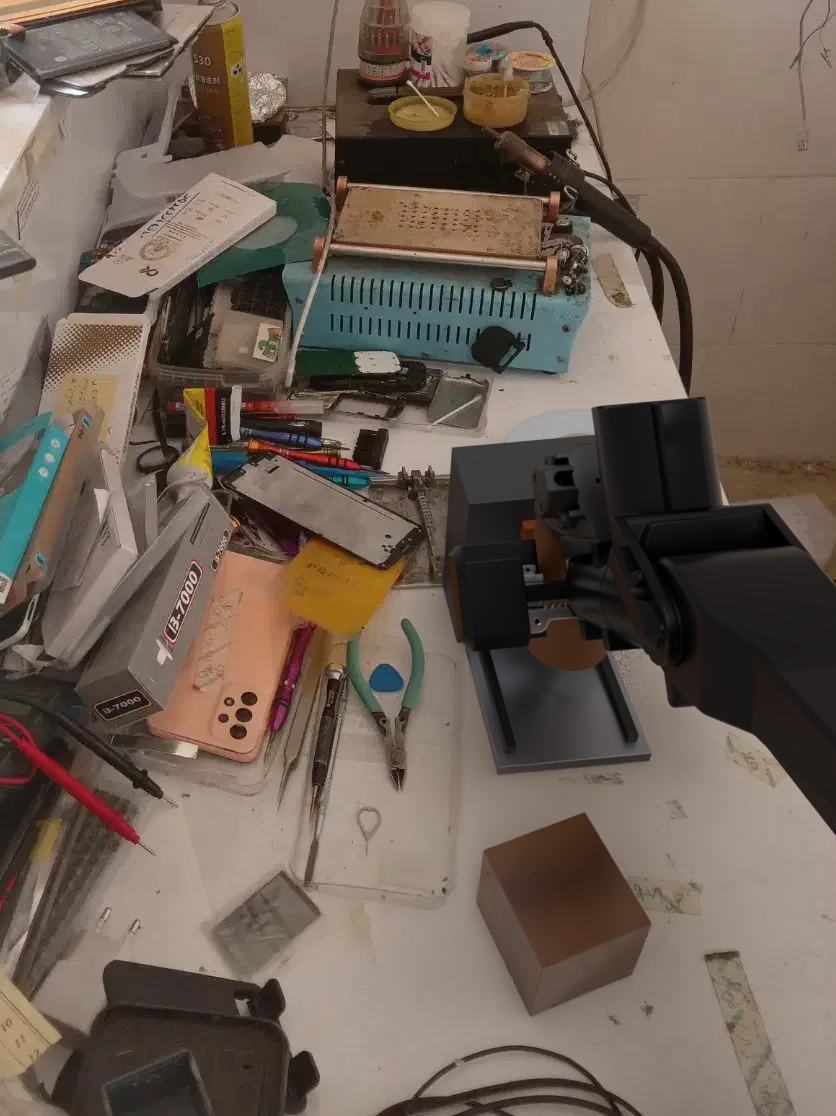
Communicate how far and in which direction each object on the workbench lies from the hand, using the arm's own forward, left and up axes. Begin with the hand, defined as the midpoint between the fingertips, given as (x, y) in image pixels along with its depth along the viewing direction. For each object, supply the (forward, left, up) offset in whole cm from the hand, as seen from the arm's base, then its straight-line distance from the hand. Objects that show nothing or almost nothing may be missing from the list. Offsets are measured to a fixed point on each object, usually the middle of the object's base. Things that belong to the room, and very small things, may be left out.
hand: (567, 573), depth 69 cm
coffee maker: (+7, -2, -13) cm, 15 cm away
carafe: (-1, 0, -5) cm, 5 cm away
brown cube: (-16, +9, -13) cm, 23 cm away
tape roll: (+16, -13, -13) cm, 24 cm away
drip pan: (-1, 0, -13) cm, 13 cm away
